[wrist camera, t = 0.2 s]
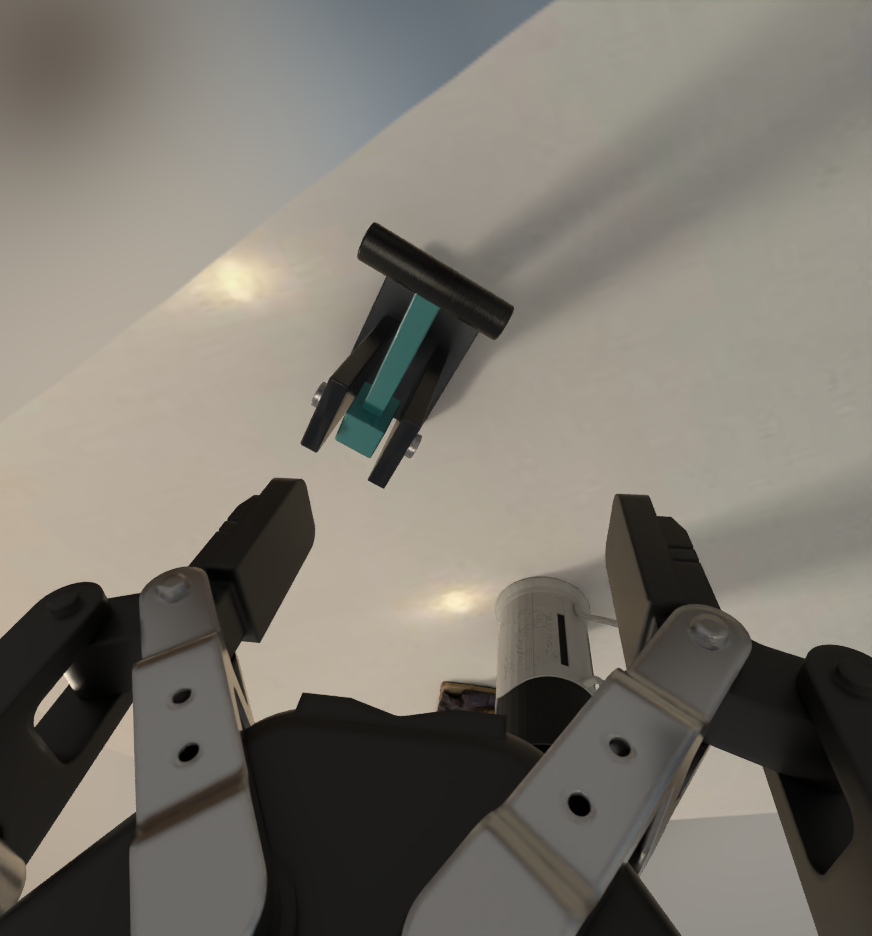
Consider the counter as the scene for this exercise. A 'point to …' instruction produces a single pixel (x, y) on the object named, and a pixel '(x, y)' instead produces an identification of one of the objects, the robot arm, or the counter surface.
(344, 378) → the bracket
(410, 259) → the lever
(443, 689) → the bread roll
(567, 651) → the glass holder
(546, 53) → the counter surface
